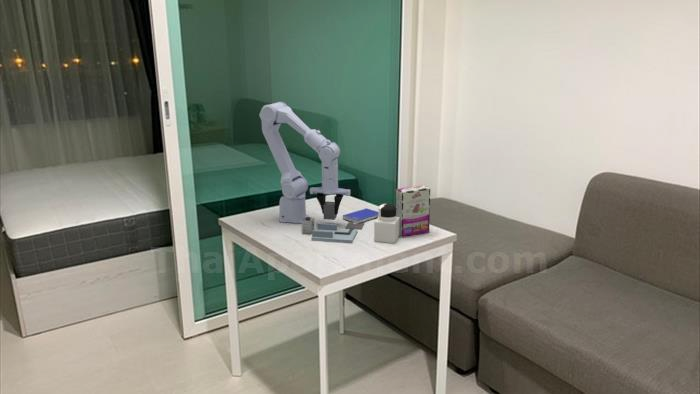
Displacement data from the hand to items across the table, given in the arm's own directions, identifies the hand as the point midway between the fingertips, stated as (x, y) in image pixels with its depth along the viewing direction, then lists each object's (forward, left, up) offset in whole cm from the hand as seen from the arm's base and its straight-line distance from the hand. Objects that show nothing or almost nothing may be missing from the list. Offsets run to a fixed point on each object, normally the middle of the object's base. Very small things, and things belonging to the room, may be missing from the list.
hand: (330, 213), depth 193 cm
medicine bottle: (+22, -10, -5) cm, 25 cm away
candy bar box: (+30, -3, -5) cm, 31 cm away
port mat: (+9, 0, -4) cm, 10 cm away
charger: (0, 0, -2) cm, 2 cm away
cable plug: (-6, -9, -4) cm, 12 cm away
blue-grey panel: (+4, -10, -4) cm, 11 cm away
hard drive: (+10, +9, -4) cm, 14 cm away
